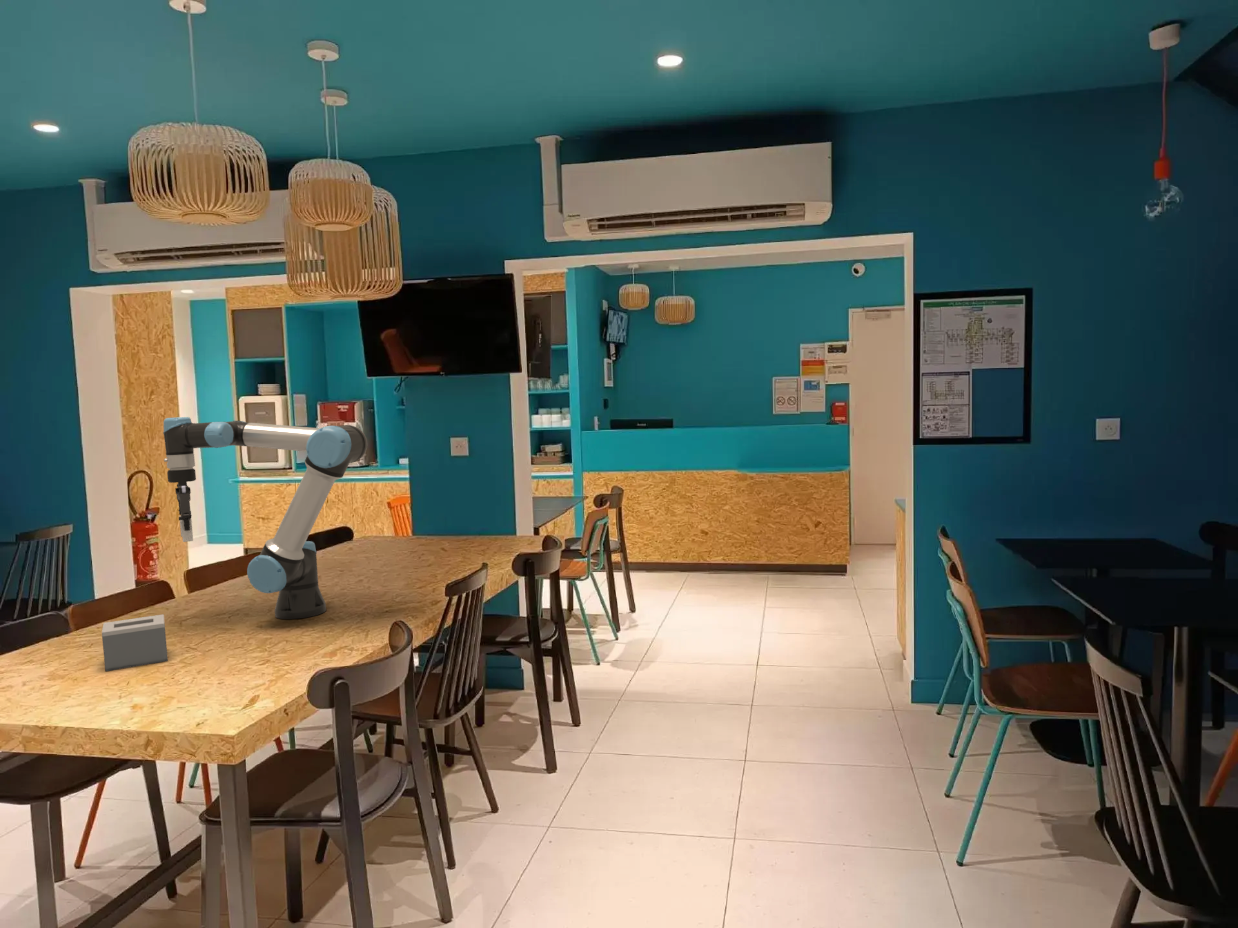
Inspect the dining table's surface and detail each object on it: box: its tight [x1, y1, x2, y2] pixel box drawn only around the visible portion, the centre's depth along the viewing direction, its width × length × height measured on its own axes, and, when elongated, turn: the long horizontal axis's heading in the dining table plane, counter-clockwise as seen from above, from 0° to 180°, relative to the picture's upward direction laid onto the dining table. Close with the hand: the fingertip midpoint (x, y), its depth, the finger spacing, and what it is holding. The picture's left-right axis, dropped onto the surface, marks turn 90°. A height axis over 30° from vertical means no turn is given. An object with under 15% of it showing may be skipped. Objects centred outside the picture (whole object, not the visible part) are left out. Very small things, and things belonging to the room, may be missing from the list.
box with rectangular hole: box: [101, 614, 169, 672], centre depth 223 cm, size 14×12×10 cm
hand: (187, 538), depth 256 cm, fingers open, 13 cm apart
